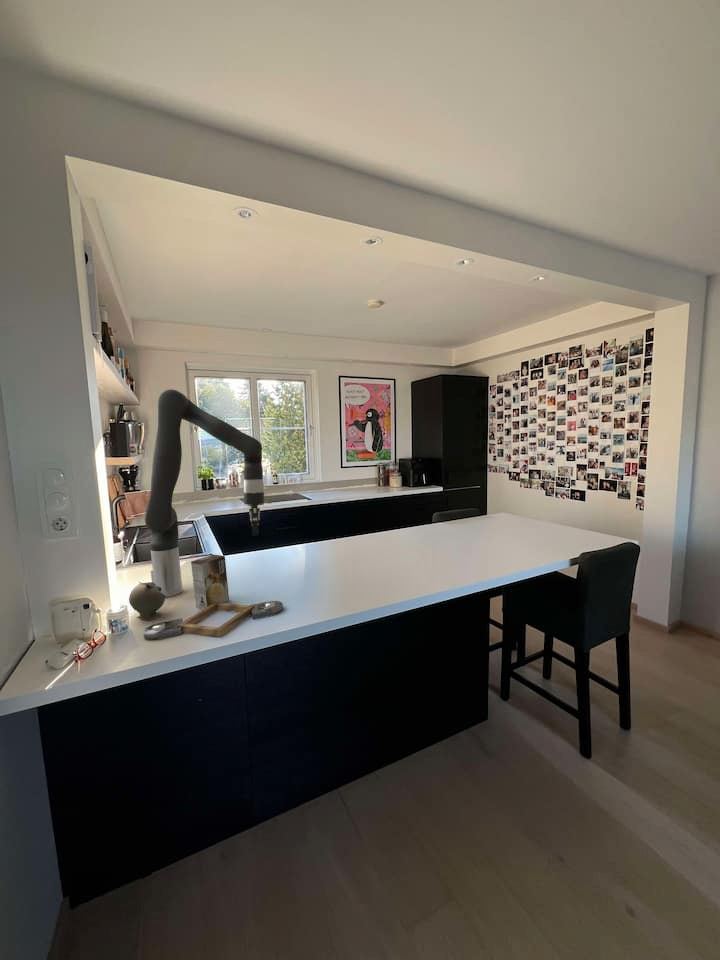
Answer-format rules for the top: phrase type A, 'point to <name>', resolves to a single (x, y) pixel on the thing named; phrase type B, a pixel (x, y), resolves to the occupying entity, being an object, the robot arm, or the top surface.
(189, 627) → the wooden picture frame
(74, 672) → the top surface
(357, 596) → the top surface
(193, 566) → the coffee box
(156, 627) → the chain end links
